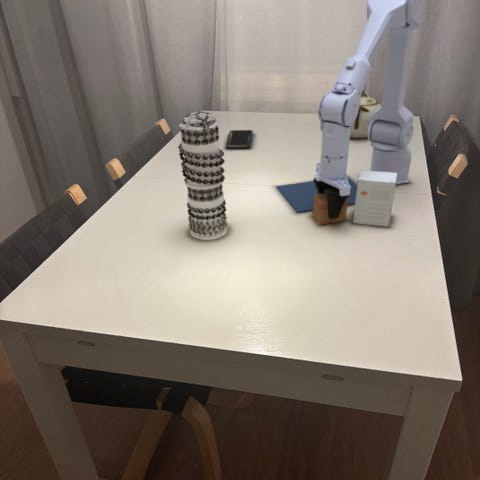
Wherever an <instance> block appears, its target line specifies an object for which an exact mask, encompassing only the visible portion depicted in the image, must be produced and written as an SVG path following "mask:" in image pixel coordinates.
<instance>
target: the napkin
mask: <svg viewBox="0 0 480 480" xmlns="http://www.w3.org/2000/svg"><path fill="white" fill-rule="evenodd" d="M347 178H348V183H349V185H350V186H351V194H350V195H349V197H348V206H353V205H355V200H356V191H357V184H356V182H354V181H353V180H352V179H351V178H349V177H348V176H347ZM276 188H277V190H278V191H279V192H280V193H281V195H282V196H283V197H284V198H285V200H286V201H287V202H288V204H289V205H290V206H291V207H292V209H293V210H294V211H295V213H296V214H300V213H306V212H311V211H312V212H313V197H314V194H318V192H317V188H316V186H315V183H314V181H313V180H310V181H303V182H296V183H288V184H283V185H277V186H276Z"/></svg>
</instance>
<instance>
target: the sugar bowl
mask: <svg viewBox="0 0 480 480" xmlns="http://www.w3.org/2000/svg"><path fill="white" fill-rule="evenodd" d="M360 97H361V103H360V105H359V111H358V115H357V118H356V119H355V121H354V123H353V124H352V125H351V132H350V138H353V139H364V138H365V139H366V138H368V135H367V133H368V127H369V125H370V121H371V116H372V114H373V113H374V112H375V111H376V110H377V109H378V108H380V107H382V103H380V101H379V100H378V99H376V98H374V97H372V96H370V95H367V94H366V93H365V90H363V92H362V94H361V96H360Z"/></svg>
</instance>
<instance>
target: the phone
mask: <svg viewBox="0 0 480 480" xmlns="http://www.w3.org/2000/svg"><path fill="white" fill-rule="evenodd" d="M253 136H254V131H253V130H252V129H240V130H239V129H232V130H229V133H228V136H227V140H226V142H225V148H226V149H227V150H242V149H243V150H245V149H246V150H247V149H251V147H252V143H253Z"/></svg>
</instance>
